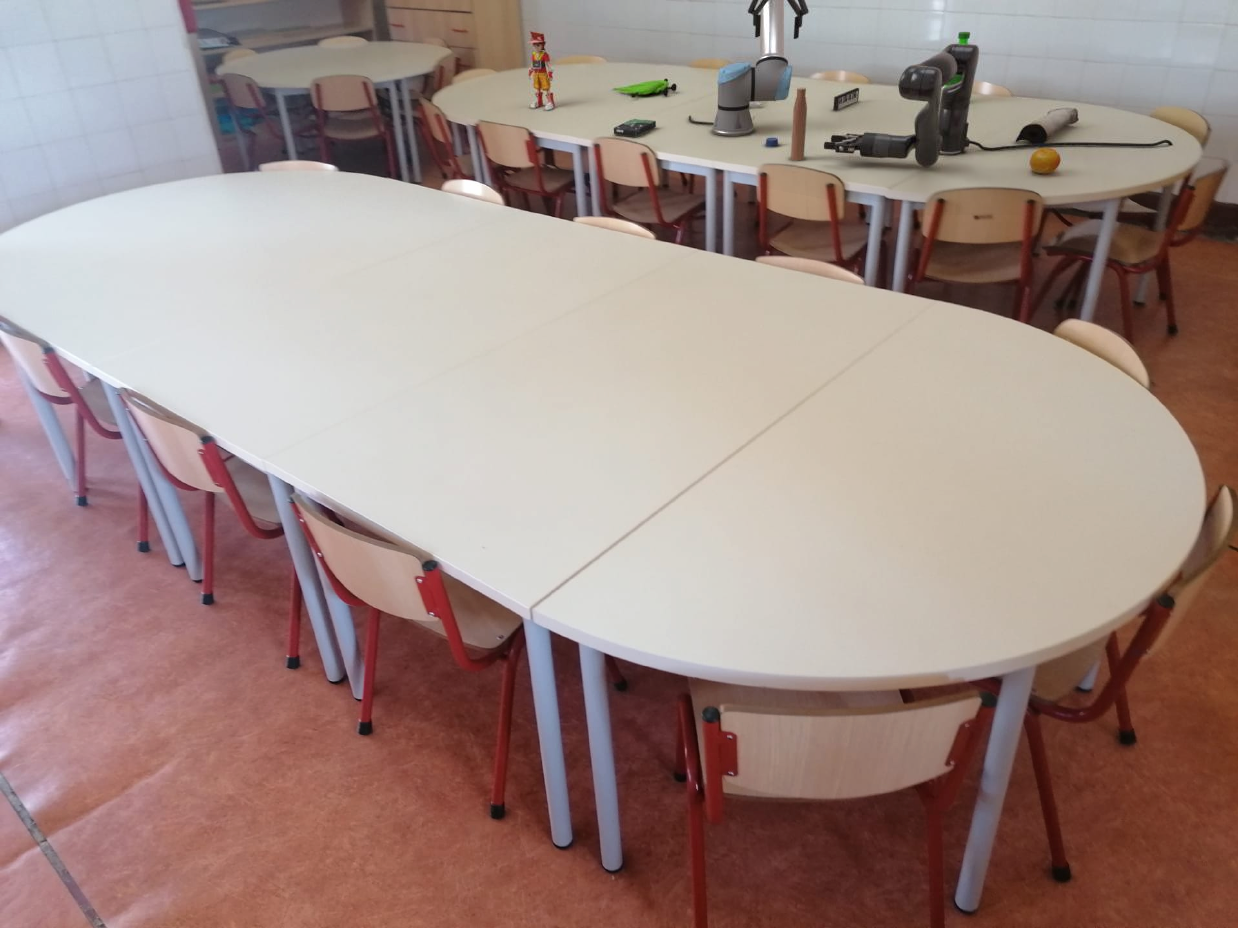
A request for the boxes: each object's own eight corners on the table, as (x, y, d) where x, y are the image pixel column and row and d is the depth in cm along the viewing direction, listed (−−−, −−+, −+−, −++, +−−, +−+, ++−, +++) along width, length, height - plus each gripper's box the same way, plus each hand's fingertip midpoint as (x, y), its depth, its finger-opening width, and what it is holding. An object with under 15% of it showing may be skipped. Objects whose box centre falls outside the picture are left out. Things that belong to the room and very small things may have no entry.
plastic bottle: (973, 101, 354) (984, 32, 339) (955, 106, 349) (966, 36, 335) (952, 97, 361) (962, 29, 346) (934, 102, 356) (944, 33, 342)
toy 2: (686, 85, 398) (631, 84, 414) (685, 72, 395) (629, 72, 411) (651, 104, 381) (596, 103, 397) (650, 92, 378) (594, 91, 394)
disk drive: (636, 138, 336) (656, 127, 346) (636, 130, 334) (656, 120, 344) (613, 135, 340) (633, 125, 351) (613, 128, 339) (633, 118, 349)
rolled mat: (1045, 112, 323) (1070, 95, 315) (1059, 134, 324) (1084, 117, 315) (1011, 136, 306) (1036, 118, 298) (1025, 158, 306) (1051, 141, 298)
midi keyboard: (835, 110, 353) (837, 97, 350) (833, 110, 354) (834, 97, 351) (858, 101, 363) (859, 88, 361) (855, 101, 364) (856, 88, 361)
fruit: (1025, 163, 276) (1043, 140, 272) (1023, 166, 283) (1041, 143, 280) (1048, 179, 274) (1067, 155, 271) (1046, 181, 282) (1064, 158, 279)
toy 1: (525, 109, 381) (517, 32, 364) (534, 104, 388) (527, 28, 371) (550, 110, 377) (543, 32, 360) (559, 105, 384) (553, 28, 367)
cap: (779, 144, 319) (779, 138, 318) (774, 147, 317) (775, 141, 315) (768, 143, 321) (768, 137, 320) (764, 146, 318) (764, 140, 317)
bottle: (806, 159, 303) (810, 89, 290) (794, 161, 302) (798, 90, 289) (799, 156, 307) (804, 86, 294) (788, 158, 306) (792, 88, 293)
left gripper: (739, -34, 290) (737, 38, 302) (813, -33, 279) (808, 41, 291) (748, -37, 295) (746, 34, 307) (821, -36, 284) (816, 37, 296)
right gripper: (883, 128, 294) (834, 124, 300) (873, 139, 284) (822, 136, 290) (880, 151, 298) (832, 147, 305) (870, 163, 288) (820, 159, 294)
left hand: (776, 37), depth 299 cm, fingers open, 13 cm apart
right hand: (827, 142), depth 297 cm, fingers open, 8 cm apart
